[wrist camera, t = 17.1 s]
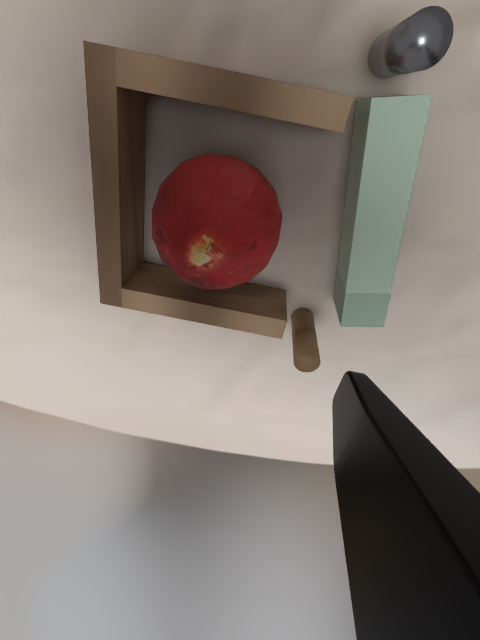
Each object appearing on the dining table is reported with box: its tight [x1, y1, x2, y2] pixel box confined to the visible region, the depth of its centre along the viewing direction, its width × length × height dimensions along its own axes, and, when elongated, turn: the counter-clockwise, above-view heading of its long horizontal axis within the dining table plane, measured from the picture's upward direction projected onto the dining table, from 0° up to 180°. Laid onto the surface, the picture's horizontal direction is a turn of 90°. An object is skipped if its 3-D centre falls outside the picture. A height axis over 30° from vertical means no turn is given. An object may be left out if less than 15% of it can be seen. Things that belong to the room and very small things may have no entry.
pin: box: [368, 6, 453, 78], centre depth 13 cm, size 2×2×4 cm
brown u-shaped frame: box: [83, 41, 354, 372], centre depth 17 cm, size 12×13×4 cm
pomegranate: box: [152, 154, 282, 289], centre depth 15 cm, size 6×6×8 cm
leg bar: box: [333, 94, 432, 327], centre depth 17 cm, size 10×2×3 cm, turn 3°
